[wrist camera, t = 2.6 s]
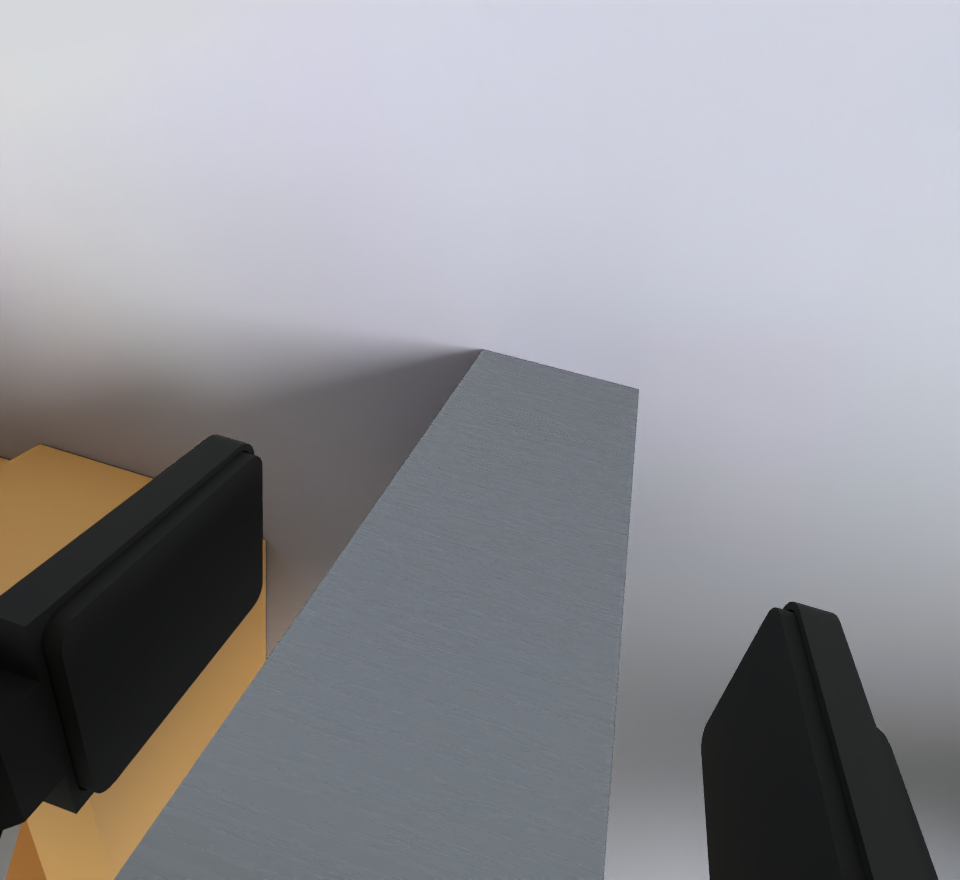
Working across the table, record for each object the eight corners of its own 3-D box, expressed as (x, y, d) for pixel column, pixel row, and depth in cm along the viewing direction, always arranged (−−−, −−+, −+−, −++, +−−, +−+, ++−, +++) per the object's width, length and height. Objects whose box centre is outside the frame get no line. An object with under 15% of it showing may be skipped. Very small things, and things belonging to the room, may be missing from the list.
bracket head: (265, 513, 15) (70, 720, 10) (266, 830, 23) (150, 1045, 17) (-147, 386, 17) (-497, 512, 12) (-25, 721, 24) (-209, 890, 19)
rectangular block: (638, 389, 12) (580, 1168, 3) (580, 567, 14) (454, 1309, 5) (483, 349, 12) (62, 953, 4) (449, 529, 14) (140, 1167, 6)
